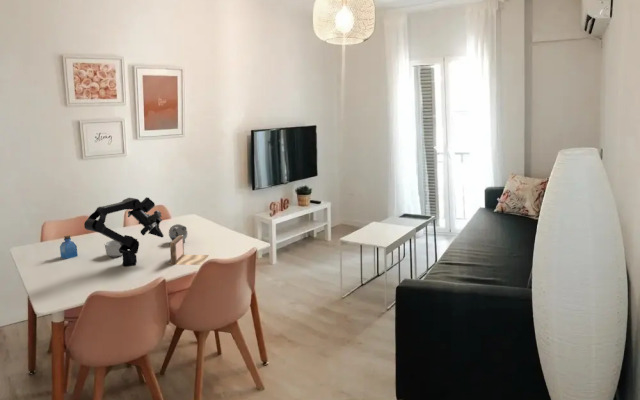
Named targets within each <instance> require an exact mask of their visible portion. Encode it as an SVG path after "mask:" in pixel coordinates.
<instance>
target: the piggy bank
mask: <svg viewBox="0 0 640 400" xmlns="http://www.w3.org/2000/svg"><path fill="white" fill-rule="evenodd" d="M187 229H188V228H187V227H186V226H185V225H183V224H181V223H180V224H179V223H178V224H177V223H176V224H173V225H172V226H170V228H169V229H168V236H169V238H170V240H171V242H172V241H173V240H174V239H175V238H176V237H178V236H179V235H182V236H183V243H184V244H185V243H186V239H187V237H188V230H187Z"/></svg>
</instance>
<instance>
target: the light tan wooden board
mask: <svg viewBox="0 0 640 400" xmlns="http://www.w3.org/2000/svg"><path fill="white" fill-rule="evenodd" d="M208 257H210V255H209V254H184V257H183V258H182V259H181V260H180V261H179V262H178V263H177V264H173V265H176V266H177V265H183V266H186V265H187V266H188V265H189V266H190V265H192V266H200V265H203V263H204V262H205V260H206V259H207V258H208ZM168 265H172V264H171V261H170V262H169V263H168Z"/></svg>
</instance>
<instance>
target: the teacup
mask: <svg viewBox="0 0 640 400" xmlns="http://www.w3.org/2000/svg"><path fill="white" fill-rule="evenodd" d="M120 247H121V245H120V243H119V242H117V241H115V240H113V239H112V240H110V241H109V240H108V241H106V242H105V243H104V248H105V254H106V255H107V256H109V257H112V258H116V257H121V256H123V255H122V253H120V252H119V249H120Z"/></svg>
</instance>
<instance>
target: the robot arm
mask: <svg viewBox="0 0 640 400" xmlns="http://www.w3.org/2000/svg"><path fill="white" fill-rule="evenodd" d="M155 206H156V204H155V202H154V201H153V200H152V199H150V197H145V198H144V199H143V200H142V201H140V200H139V199H138V198H133V197H127V198H125V199H123V200H121V201H120V202H116V203H111V204H108V205H107V204H106V205H103V206H97V207H96V209H95V210H94V212H93V213H91V214H90V215H89V216H88V218H86V220H85V221H84V226H83V227H84V230H85V229H86V230H87V231H91V232H94V233H99V234H101V235H103V236H105V237H107V238H109V239H111V240H112V241H113V240H115V241H117V242H119V243H120V245H121V247H120V249H119V252H120V253H122V255H121V256H122V267H129V266H137V263H138V260H137V254H138V252H139V247H140V242H139V241H138V238H135V237H133V236H131V235H122V234H120V233H118V232H116V231H114V230H113V229H111V228H109V227H107V226H106V224H105V222H106V220H107V219H106V218H107V215H108V214H113V213H117V212H120V211H125V210H128V211H127V218H130V217H131V216H132V217H133V218H134V219H135V220H136V221H137V222H138V224H139V225H142V226H143V228H142V229H141V230H140V234H141V236H145V235H147V233H148V235H153V236H157V237H159V238H164V236H165V235H164V234H163V232H162V230H161V229H160V224H161V222H162V221H163V219H162V212H160V211H159V210H158V209H157V210H155V211H154V212H153V214H150V213H149V212H150V211H151V210H152V209H153V208H154V207H155ZM147 213H148V214H147Z"/></svg>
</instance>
